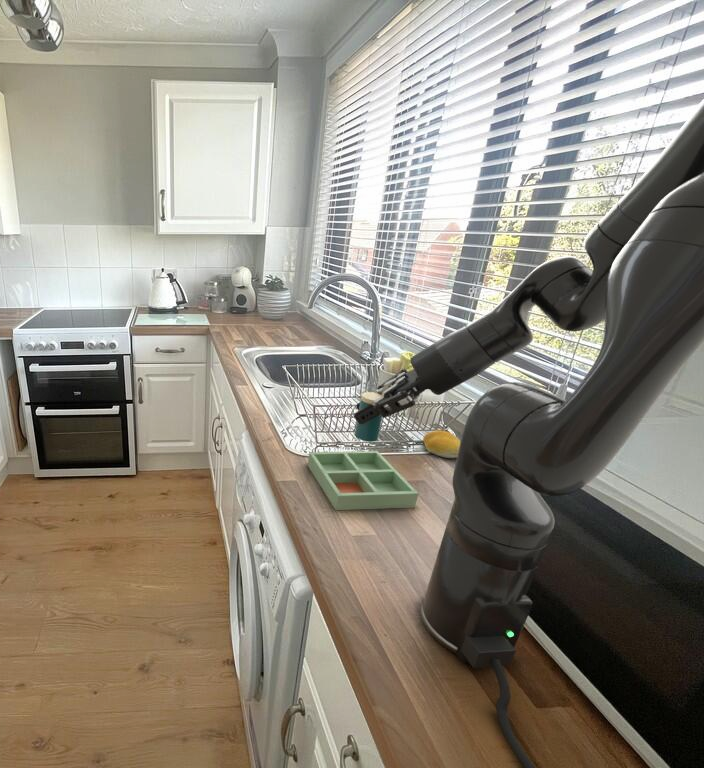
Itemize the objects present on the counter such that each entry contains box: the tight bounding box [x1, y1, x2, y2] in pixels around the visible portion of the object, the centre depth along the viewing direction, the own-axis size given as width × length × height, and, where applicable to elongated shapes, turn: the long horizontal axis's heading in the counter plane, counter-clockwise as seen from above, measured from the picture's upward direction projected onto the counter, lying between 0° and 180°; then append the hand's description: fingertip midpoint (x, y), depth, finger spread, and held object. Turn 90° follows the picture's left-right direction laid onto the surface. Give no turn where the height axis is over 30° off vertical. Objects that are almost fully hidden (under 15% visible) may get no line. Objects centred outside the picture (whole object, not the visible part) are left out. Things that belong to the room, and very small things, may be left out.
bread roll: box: [422, 430, 461, 459], centre depth 97 cm, size 8×9×4 cm
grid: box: [307, 450, 419, 511], centre depth 83 cm, size 15×15×3 cm
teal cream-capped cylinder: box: [354, 391, 386, 443], centre depth 74 cm, size 4×4×8 cm
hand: (358, 414), depth 75 cm, fingers closed on teal cream-capped cylinder, 4 cm apart
